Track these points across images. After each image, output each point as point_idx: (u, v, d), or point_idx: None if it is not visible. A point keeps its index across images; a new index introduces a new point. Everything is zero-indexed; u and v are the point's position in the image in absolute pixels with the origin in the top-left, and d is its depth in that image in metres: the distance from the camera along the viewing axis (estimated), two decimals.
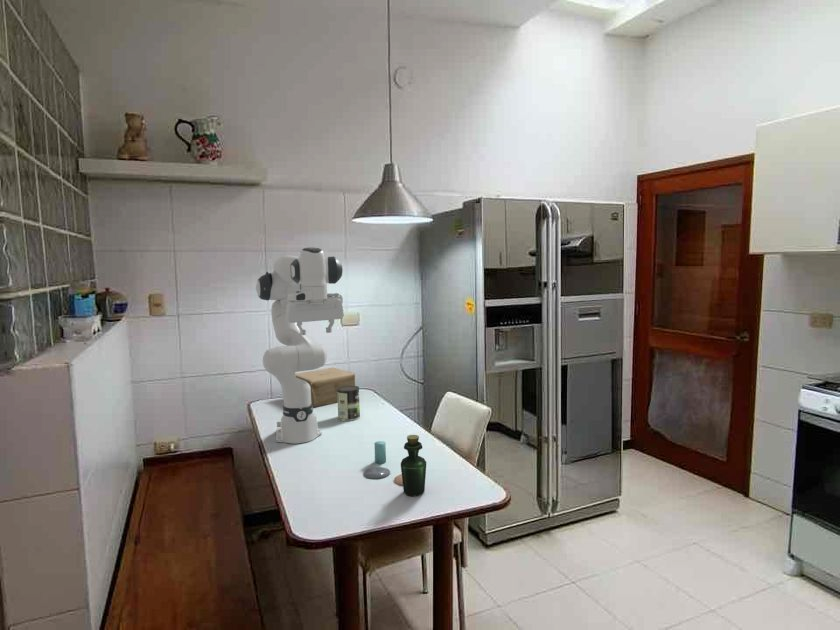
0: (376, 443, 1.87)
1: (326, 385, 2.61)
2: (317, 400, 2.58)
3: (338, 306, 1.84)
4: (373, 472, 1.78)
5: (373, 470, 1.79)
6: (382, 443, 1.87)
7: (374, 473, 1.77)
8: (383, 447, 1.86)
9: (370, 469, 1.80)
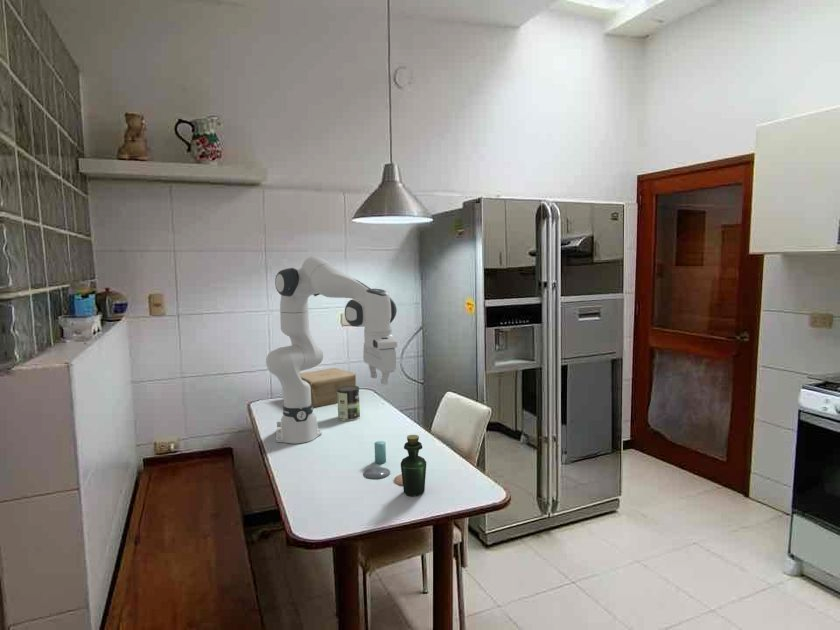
0: (376, 443, 1.87)
1: (326, 385, 2.60)
2: (317, 401, 2.58)
3: None
4: (373, 472, 1.78)
5: (373, 470, 1.79)
6: (382, 443, 1.87)
7: (374, 473, 1.77)
8: (383, 447, 1.86)
9: (370, 469, 1.80)
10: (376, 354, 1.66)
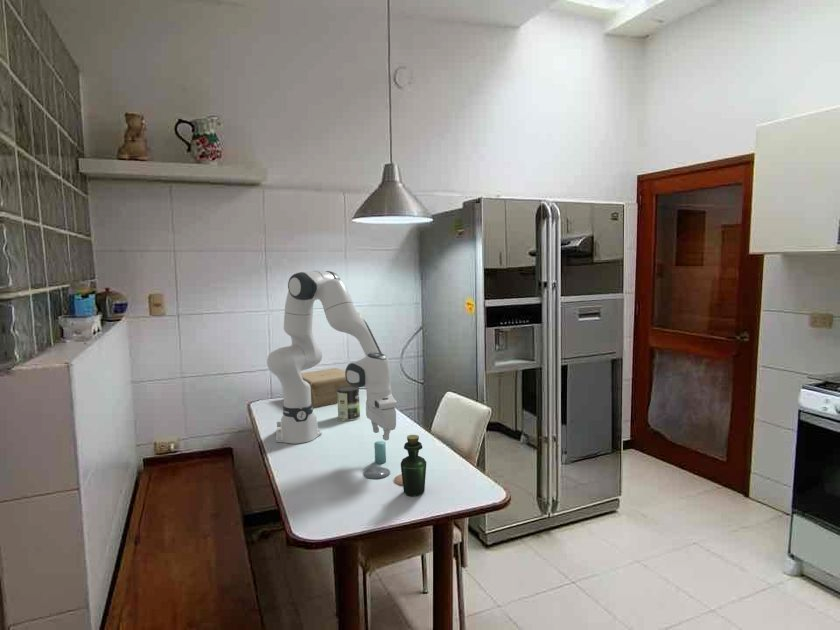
0: (376, 443, 1.87)
1: (326, 385, 2.60)
2: (316, 401, 2.58)
3: None
4: (373, 472, 1.78)
5: (373, 470, 1.79)
6: (382, 443, 1.87)
7: (374, 473, 1.77)
8: (383, 447, 1.86)
9: (370, 469, 1.80)
10: (378, 412, 1.83)
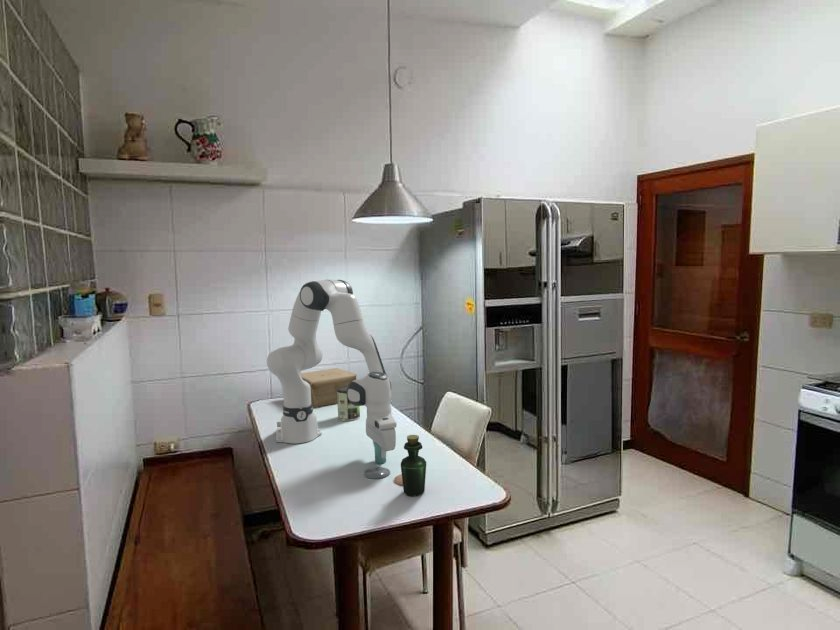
0: (376, 443, 1.87)
1: (326, 385, 2.60)
2: (316, 401, 2.57)
3: None
4: (373, 472, 1.78)
5: (373, 470, 1.79)
6: None
7: (374, 473, 1.77)
8: None
9: (370, 469, 1.80)
10: (377, 432, 1.84)
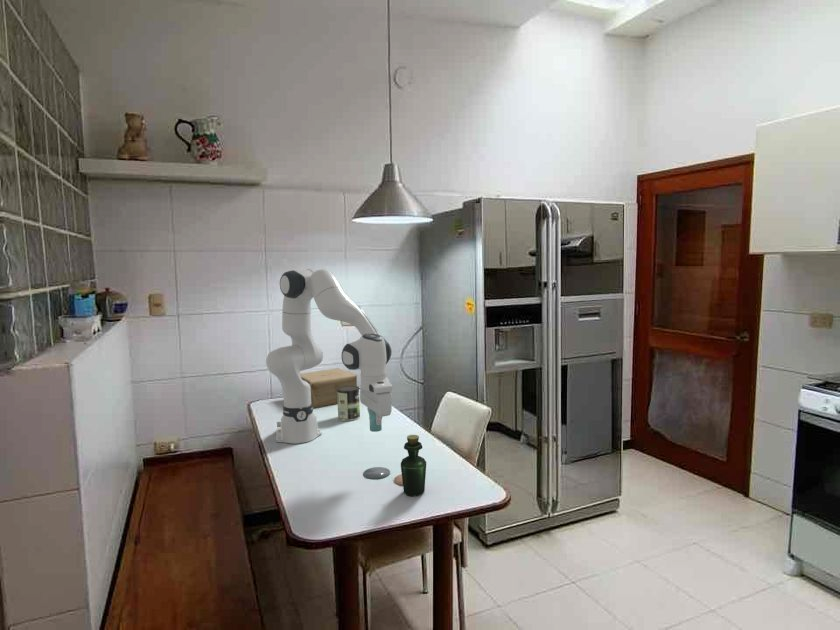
0: (371, 410, 1.75)
1: (326, 386, 2.59)
2: (316, 401, 2.57)
3: None
4: (373, 472, 1.78)
5: (373, 470, 1.79)
6: None
7: (374, 473, 1.77)
8: None
9: (370, 469, 1.80)
10: (372, 397, 1.72)
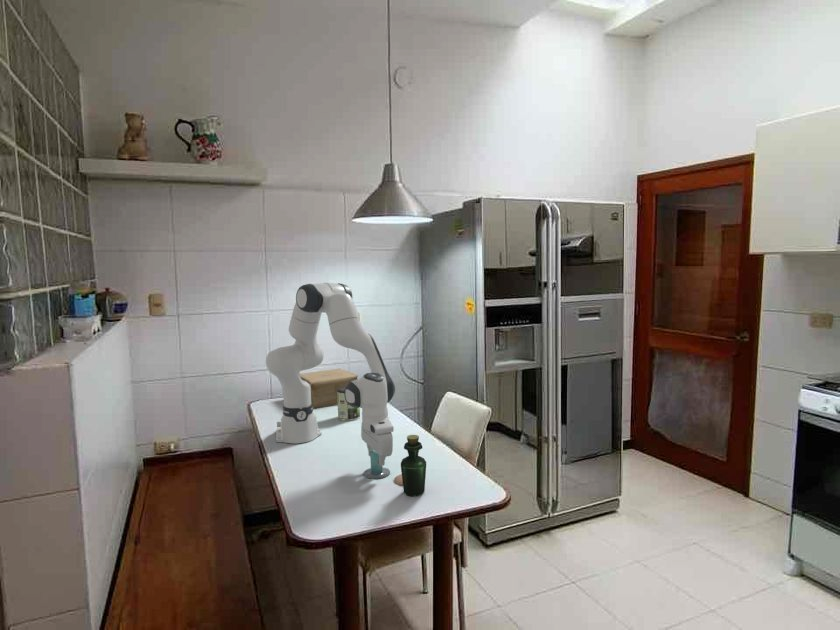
0: (372, 452, 1.77)
1: (325, 386, 2.58)
2: (316, 402, 2.56)
3: None
4: None
5: None
6: None
7: None
8: None
9: (370, 469, 1.80)
10: (373, 436, 1.74)
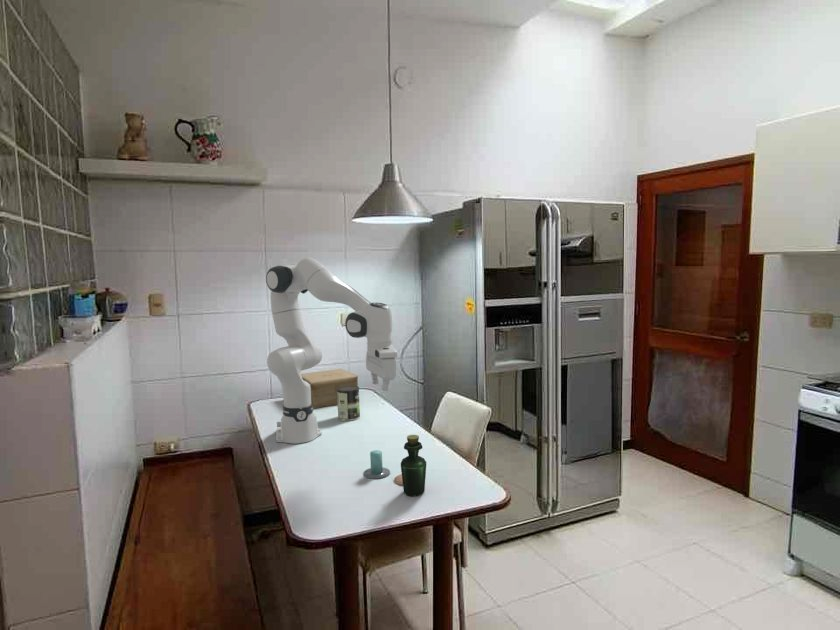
0: (372, 452, 1.77)
1: (325, 386, 2.58)
2: (316, 402, 2.56)
3: None
4: None
5: None
6: (378, 452, 1.77)
7: None
8: (379, 457, 1.76)
9: (370, 469, 1.80)
10: (378, 363, 1.81)
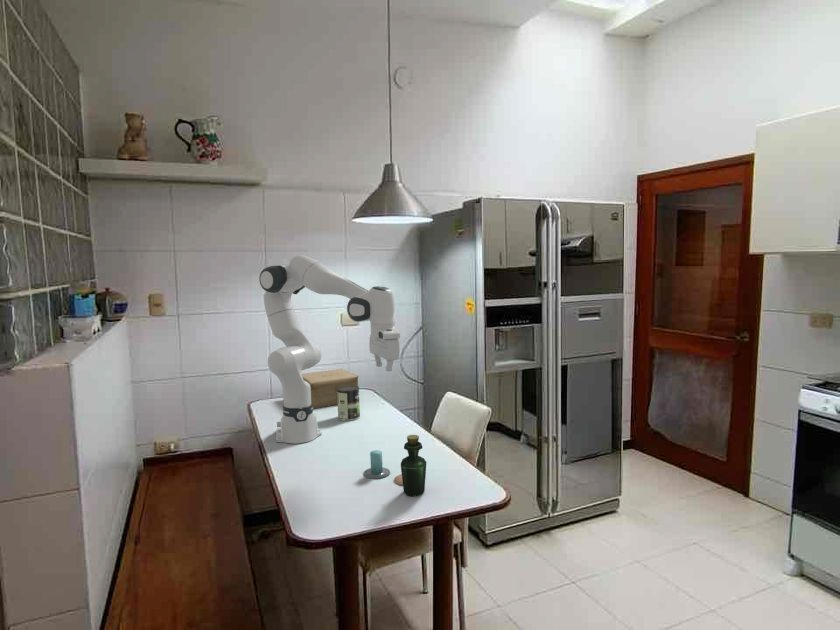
0: (372, 452, 1.77)
1: (325, 386, 2.58)
2: (316, 402, 2.56)
3: None
4: None
5: None
6: (378, 452, 1.77)
7: None
8: (379, 457, 1.76)
9: (370, 469, 1.80)
10: (381, 344, 1.86)
